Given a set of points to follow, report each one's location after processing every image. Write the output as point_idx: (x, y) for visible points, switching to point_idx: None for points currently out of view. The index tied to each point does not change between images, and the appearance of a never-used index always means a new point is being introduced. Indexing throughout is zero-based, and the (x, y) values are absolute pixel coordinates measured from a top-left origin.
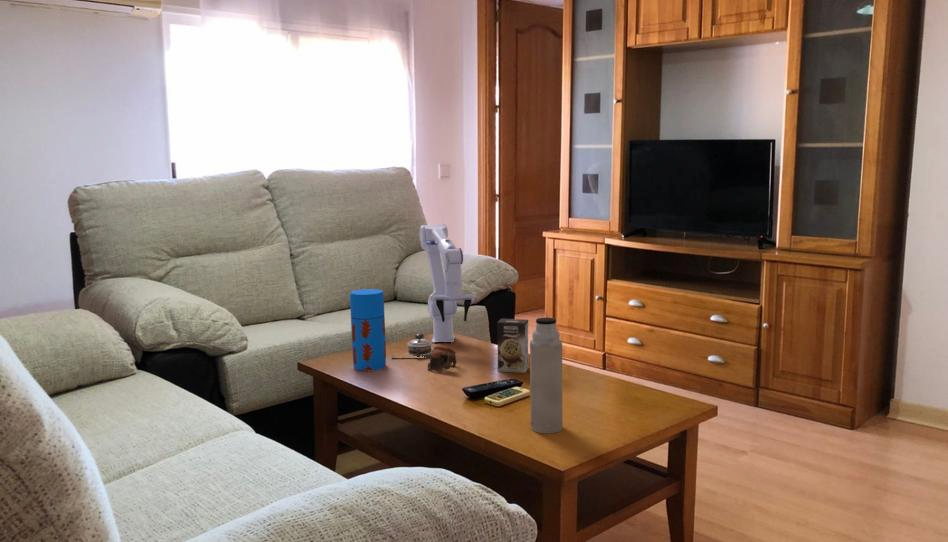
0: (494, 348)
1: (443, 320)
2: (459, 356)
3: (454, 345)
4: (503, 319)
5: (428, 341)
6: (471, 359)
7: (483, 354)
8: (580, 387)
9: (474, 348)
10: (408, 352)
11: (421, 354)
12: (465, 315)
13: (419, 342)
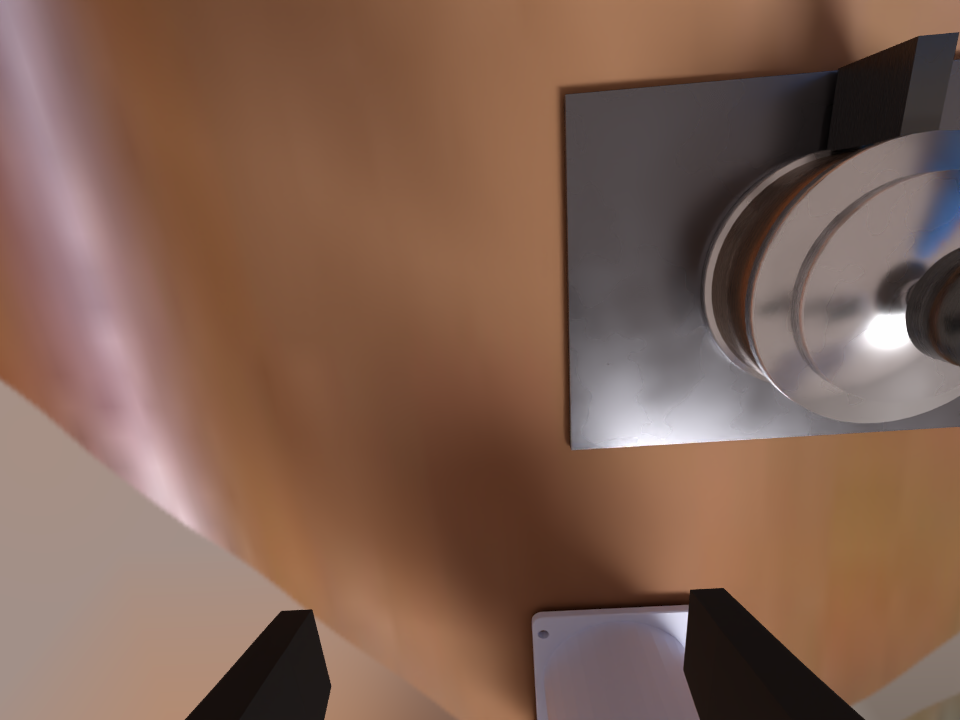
0: (172, 462)
1: (718, 606)
2: (421, 180)
3: (515, 545)
4: None
5: (805, 291)
6: (278, 53)
7: (210, 263)
8: None
9: (337, 461)
10: None
11: (816, 160)
12: (211, 717)
13: (933, 223)
